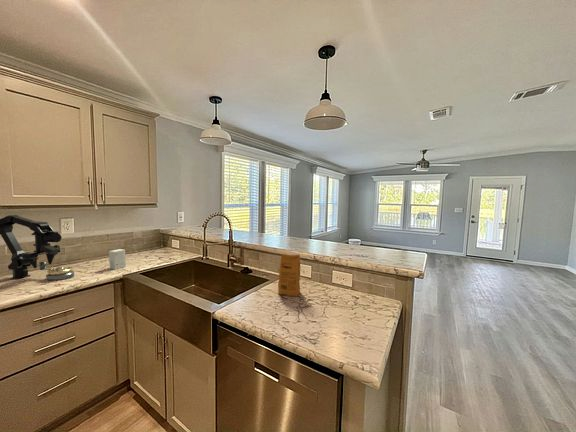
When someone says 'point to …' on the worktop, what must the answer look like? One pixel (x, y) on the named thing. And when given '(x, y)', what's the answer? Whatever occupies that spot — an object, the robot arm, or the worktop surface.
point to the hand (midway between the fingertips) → (42, 266)
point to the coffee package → (289, 275)
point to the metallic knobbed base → (56, 271)
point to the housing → (59, 277)
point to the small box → (117, 259)
